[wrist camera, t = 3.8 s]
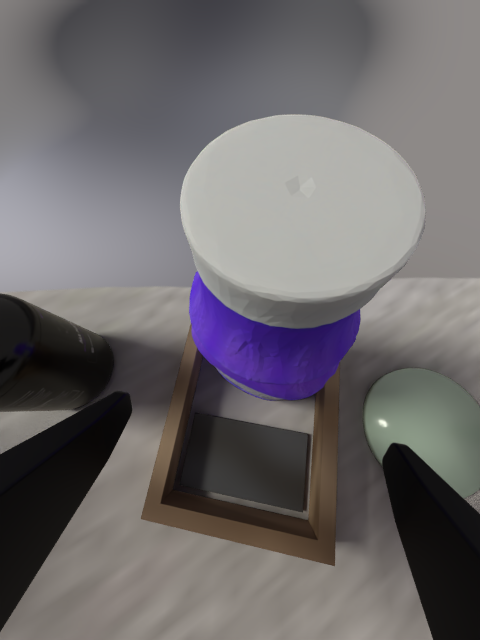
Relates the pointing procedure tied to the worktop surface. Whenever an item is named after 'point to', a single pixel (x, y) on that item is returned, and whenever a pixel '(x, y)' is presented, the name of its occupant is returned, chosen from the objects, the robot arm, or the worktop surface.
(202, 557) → the worktop surface
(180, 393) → the wooden u-shaped frame
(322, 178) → the bottle
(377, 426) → the coaster
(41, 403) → the supplement bottle
